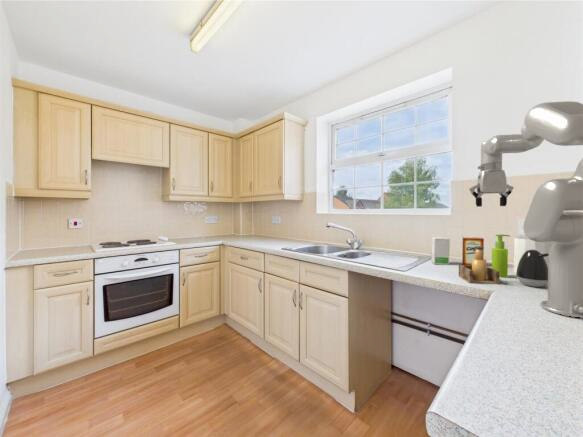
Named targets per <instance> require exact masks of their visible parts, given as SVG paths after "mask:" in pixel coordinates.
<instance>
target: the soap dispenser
mask: <svg viewBox="0 0 583 437" xmlns="http://www.w3.org/2000/svg"><path fill="white" fill-rule="evenodd" d="M495 237H497V240H496V241H495V243H494V244H495V245H494V247H492V248H491V268H492V269H495V270H497V271H499V278H508V272H509V271H508V264H509V263H508V262H509V258H508V255H509V249H508V248H505V241H503V237H511V235H508V234H502V233H501V234H495Z"/></svg>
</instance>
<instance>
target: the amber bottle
mask: <svg viewBox="0 0 583 437" xmlns="http://www.w3.org/2000/svg"><path fill="white" fill-rule="evenodd" d="M484 248H485V247H483V246H475V249H476V252H475V259H472V271H473V279H474V280H478V281H486V266H487V259H485V258H484V255H483V249H484ZM484 250H485V249H484Z"/></svg>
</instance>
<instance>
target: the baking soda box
mask: <svg viewBox="0 0 583 437" xmlns="http://www.w3.org/2000/svg"><path fill="white" fill-rule="evenodd" d="M484 241H485V238H484V237H477V236H472V237H471V236H462V243H461V244H462V245H461V246H462V247H461V248H462V251H461V252H462V254H461V255H462V258H461V259H462V265H472V259H475V252H476V249H475V246H483V247H484V243H485V242H484ZM484 248H485V247H484ZM484 250H485V249H483V256H484V255H485V254H484V253H485V252H484Z"/></svg>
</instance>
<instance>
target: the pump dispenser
mask: <svg viewBox="0 0 583 437" xmlns="http://www.w3.org/2000/svg"><path fill="white" fill-rule="evenodd" d="M546 256H549V254H548V253H546V254H541V253H540V252H539V251H537V250H528V251H526V252H525V253H524V254H523V255H522V257H521V259H520V261H519V264H518V267H517V273H515V274H516V276H517V279H518V281H519V283H521V284H523V285H525V286H527V287H532V288H543V287H544V286H546V285H548V266H547V263H546V261H545V259H544V257H546Z"/></svg>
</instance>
